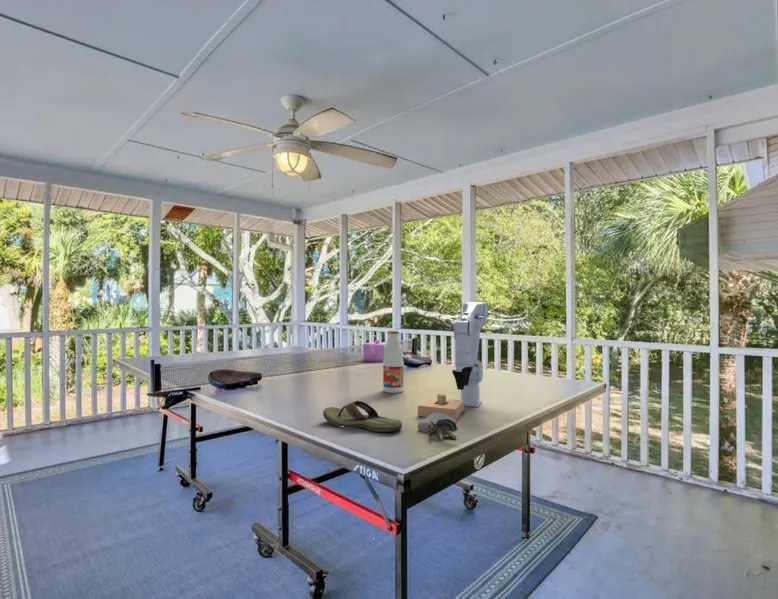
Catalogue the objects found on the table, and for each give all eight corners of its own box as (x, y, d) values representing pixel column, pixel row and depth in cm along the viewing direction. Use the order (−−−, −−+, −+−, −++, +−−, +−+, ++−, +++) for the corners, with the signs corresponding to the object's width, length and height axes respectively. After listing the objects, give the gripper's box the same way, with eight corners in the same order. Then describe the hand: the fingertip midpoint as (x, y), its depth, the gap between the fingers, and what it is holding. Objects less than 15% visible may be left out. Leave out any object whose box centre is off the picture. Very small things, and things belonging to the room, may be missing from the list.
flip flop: (318, 424, 152) (317, 400, 152) (338, 416, 162) (338, 393, 162) (390, 438, 137) (390, 411, 137) (408, 428, 147) (408, 403, 147)
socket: (428, 407, 174) (428, 397, 174) (464, 410, 169) (464, 400, 169) (417, 416, 161) (417, 405, 161) (455, 420, 156) (455, 409, 156)
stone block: (458, 432, 148) (433, 421, 154) (460, 419, 148) (435, 408, 154) (440, 443, 139) (414, 431, 145) (442, 429, 138) (416, 417, 144)
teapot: (359, 362, 289) (359, 341, 289) (373, 357, 313) (373, 338, 313) (380, 363, 284) (380, 342, 284) (393, 358, 308) (393, 338, 307)
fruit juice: (407, 391, 203) (407, 331, 203) (392, 394, 197) (392, 332, 196) (393, 388, 210) (393, 329, 210) (379, 390, 204) (379, 330, 203)
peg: (438, 412, 167) (438, 393, 167) (446, 412, 166) (446, 394, 166) (436, 414, 164) (436, 395, 164) (444, 415, 163) (444, 396, 163)
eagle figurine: (429, 440, 132) (459, 434, 131) (425, 416, 135) (454, 411, 135) (431, 446, 138) (459, 441, 138) (426, 424, 142) (454, 419, 141)
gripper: (469, 354, 158) (469, 392, 159) (476, 350, 172) (476, 384, 172) (450, 353, 161) (450, 390, 161) (459, 349, 175) (459, 383, 175)
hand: (462, 387), depth 167 cm, fingers open, 7 cm apart
